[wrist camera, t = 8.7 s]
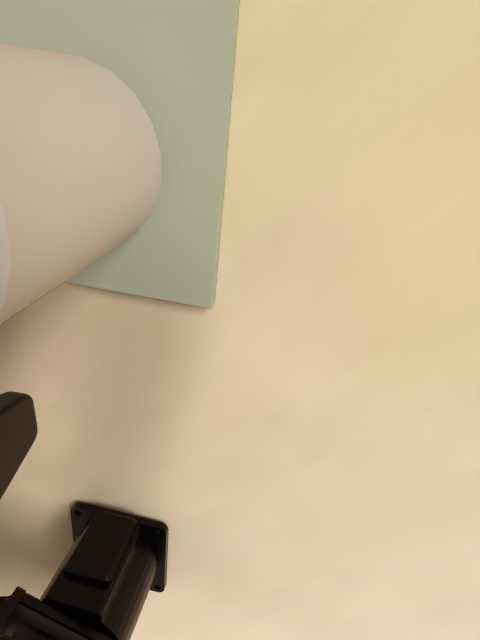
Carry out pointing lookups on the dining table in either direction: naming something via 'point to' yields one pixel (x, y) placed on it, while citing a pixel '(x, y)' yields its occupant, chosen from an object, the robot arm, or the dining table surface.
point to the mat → (156, 125)
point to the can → (67, 169)
